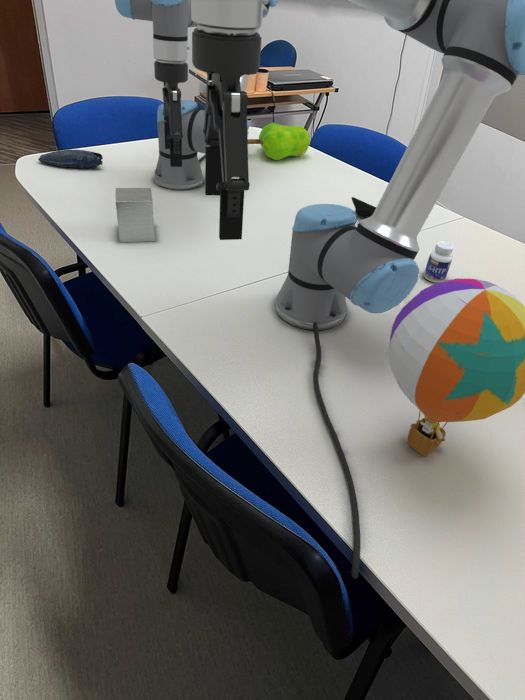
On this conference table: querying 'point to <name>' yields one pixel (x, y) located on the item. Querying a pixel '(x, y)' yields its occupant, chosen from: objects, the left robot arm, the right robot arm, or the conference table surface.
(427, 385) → the toy
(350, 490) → the right robot arm
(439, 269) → the pill bottle
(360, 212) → the handheld gaming console
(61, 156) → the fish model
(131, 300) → the conference table surface
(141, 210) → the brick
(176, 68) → the left robot arm
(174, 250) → the conference table surface
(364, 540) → the conference table surface
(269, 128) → the decorative tree
